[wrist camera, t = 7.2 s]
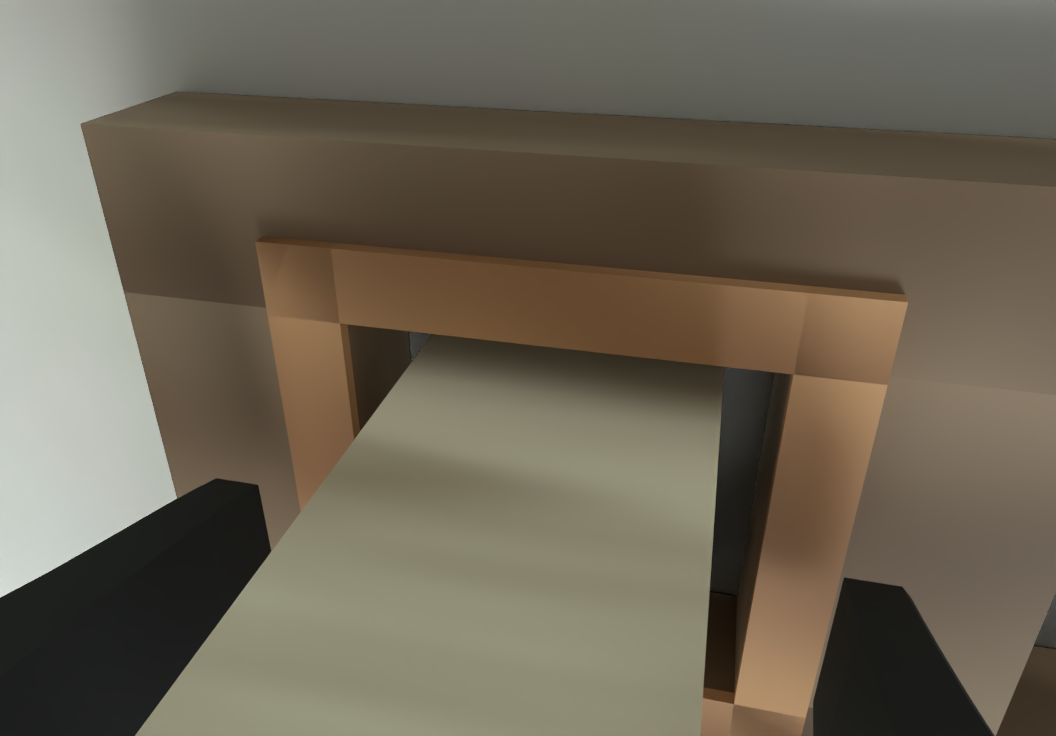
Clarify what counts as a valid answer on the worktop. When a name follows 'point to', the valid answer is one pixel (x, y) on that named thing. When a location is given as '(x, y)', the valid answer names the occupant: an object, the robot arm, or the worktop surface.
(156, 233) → the brown slotted board
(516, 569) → the peg
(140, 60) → the worktop surface
